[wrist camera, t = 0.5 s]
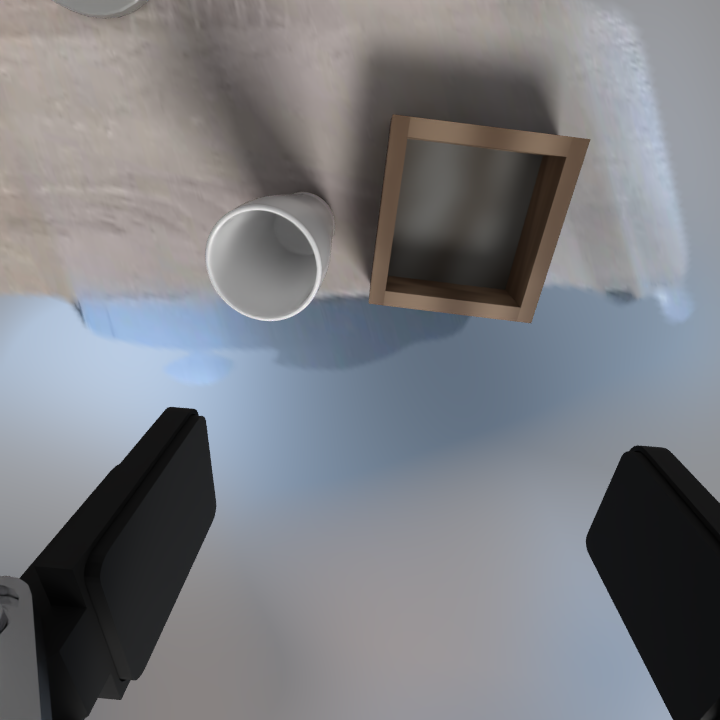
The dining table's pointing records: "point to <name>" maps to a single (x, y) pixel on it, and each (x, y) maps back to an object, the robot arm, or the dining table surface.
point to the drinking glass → (271, 254)
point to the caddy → (470, 216)
